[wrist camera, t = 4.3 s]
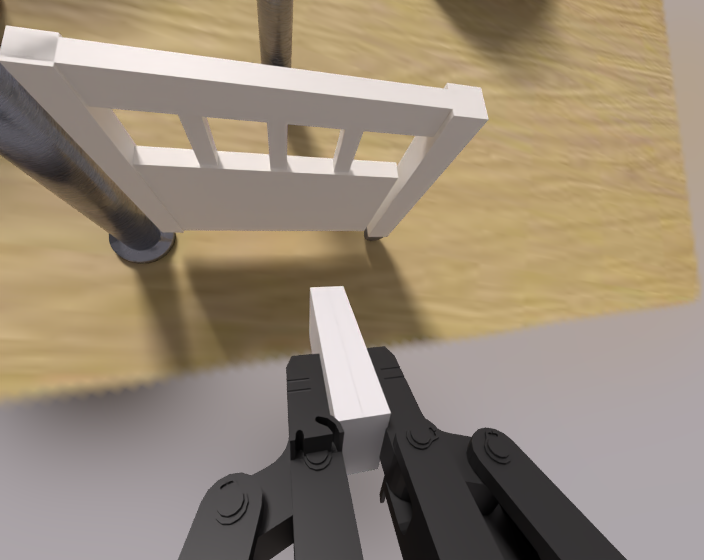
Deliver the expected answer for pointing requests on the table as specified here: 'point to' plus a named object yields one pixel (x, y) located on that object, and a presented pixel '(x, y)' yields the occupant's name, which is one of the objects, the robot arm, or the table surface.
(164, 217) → the gate
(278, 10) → the latch post
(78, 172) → the hinge post
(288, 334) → the table surface
